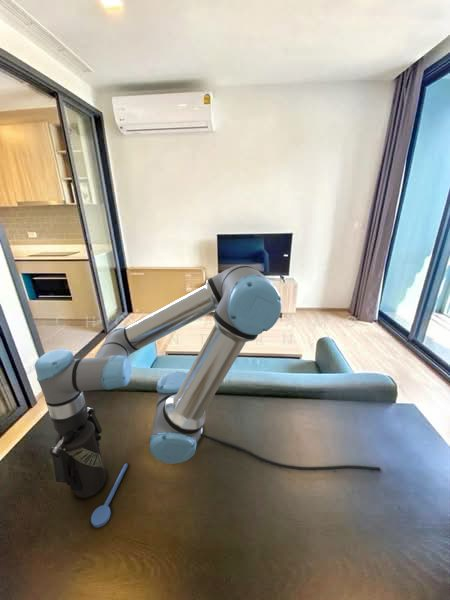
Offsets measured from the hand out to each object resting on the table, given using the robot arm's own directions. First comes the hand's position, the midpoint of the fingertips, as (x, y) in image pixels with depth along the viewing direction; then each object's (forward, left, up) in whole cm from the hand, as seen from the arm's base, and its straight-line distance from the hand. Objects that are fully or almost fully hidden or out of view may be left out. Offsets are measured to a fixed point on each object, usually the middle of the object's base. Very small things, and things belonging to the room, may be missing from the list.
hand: (87, 472), depth 70 cm
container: (0, 0, -4) cm, 4 cm away
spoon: (-8, +2, -4) cm, 9 cm away
